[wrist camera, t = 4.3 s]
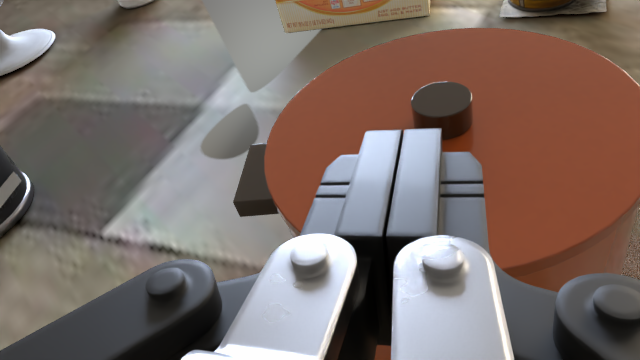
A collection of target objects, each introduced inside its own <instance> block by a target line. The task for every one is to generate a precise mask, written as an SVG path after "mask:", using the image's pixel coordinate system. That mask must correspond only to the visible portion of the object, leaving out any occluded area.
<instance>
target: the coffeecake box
mask: <svg viewBox="0 0 640 360" xmlns="http://www.w3.org/2000/svg"><path fill="white" fill-rule="evenodd" d="M276 4H277V8H278V11H279V14H280V18H281V21H282V24H283V28H284V32H285V33H292V32H299V31H308V30H315V29H324V28H331V27H339V26H347V25H354V24H363V23H371V22H379V21H387V20H396V19H404V18H412V17H420V16H429V13H430V0H276Z"/></svg>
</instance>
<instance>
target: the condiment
mask: <svg viewBox="0 0 640 360" xmlns="http://www.w3.org/2000/svg"><path fill="white" fill-rule="evenodd" d="M589 12H606V0H503V4H502V7H501V11H500V15H499V17H524V16H529V17H533V16H547V15H556V14H583V13H589Z"/></svg>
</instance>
